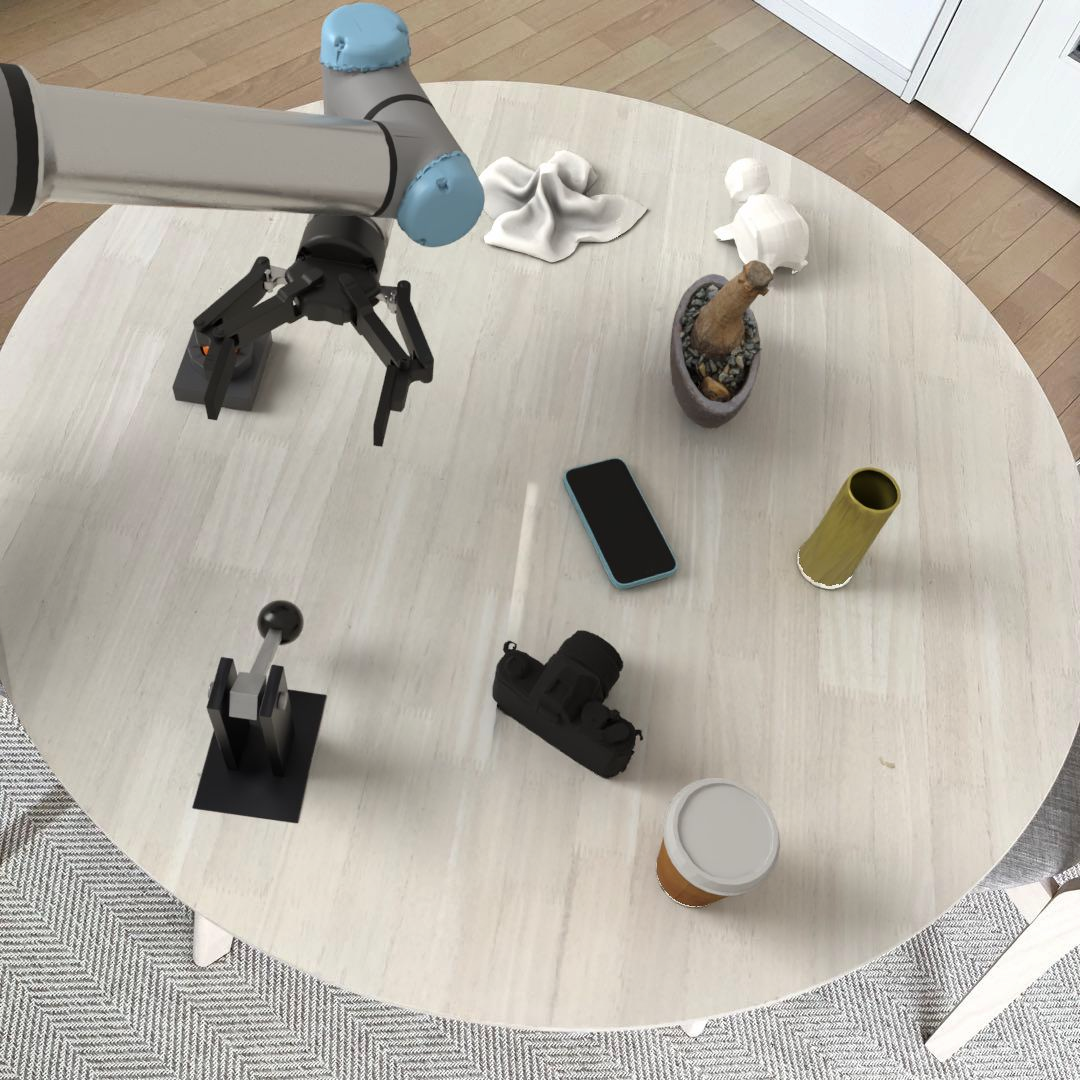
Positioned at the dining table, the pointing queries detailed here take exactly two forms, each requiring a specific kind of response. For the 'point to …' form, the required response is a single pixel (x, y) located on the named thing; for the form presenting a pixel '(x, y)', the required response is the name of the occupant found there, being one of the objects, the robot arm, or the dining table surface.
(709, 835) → the disposable coffee cup
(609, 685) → the film camera
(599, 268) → the dining table surface
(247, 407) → the control block
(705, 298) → the planter
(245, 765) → the bracket
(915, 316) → the dining table surface
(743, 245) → the white figurine
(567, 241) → the cloth
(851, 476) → the vase
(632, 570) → the smartphone
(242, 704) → the lever
